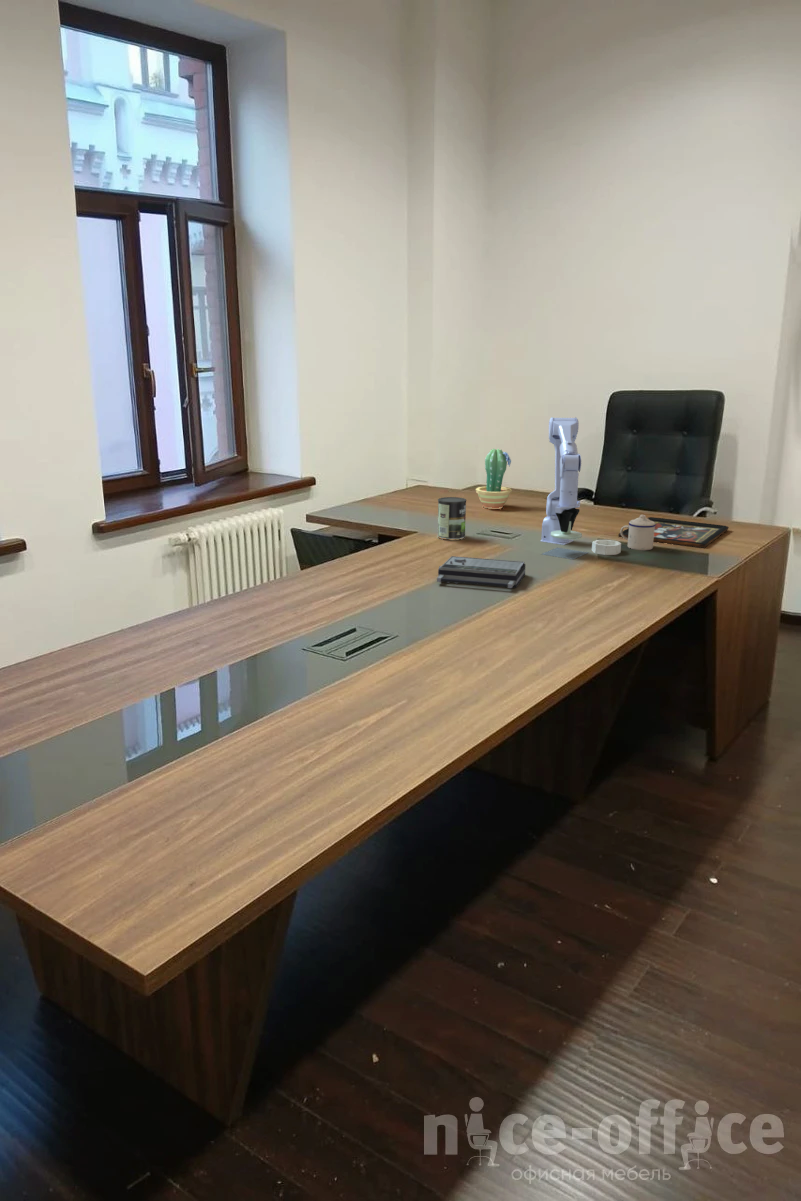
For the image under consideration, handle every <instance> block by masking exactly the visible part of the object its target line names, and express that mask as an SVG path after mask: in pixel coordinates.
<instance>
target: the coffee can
mask: <svg viewBox="0 0 801 1201" xmlns="http://www.w3.org/2000/svg"><path fill="white" fill-rule="evenodd" d="M437 503H438V504H437V505H438V507H437V537H438V536H439V537H441V538H446V539H460V538H464V537H465V538H466V518H467V517H466V514H467V512H466V511H467V499H466V498H464V497H456V496H448V497H447V496H445V497H440V498H438V499H437ZM465 538H464V539H465Z"/></svg>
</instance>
